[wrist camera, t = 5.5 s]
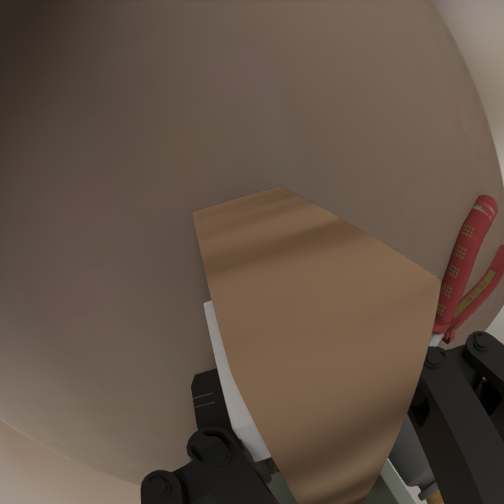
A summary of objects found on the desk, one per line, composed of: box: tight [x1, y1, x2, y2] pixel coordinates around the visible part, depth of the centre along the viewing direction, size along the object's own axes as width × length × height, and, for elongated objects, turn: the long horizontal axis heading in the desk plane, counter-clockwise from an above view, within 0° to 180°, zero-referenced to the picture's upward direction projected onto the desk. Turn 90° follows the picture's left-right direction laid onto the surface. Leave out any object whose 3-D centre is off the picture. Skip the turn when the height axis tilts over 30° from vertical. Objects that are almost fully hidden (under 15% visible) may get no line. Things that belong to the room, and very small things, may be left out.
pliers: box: [429, 195, 504, 347], centre depth 22 cm, size 12×20×3 cm, turn 143°
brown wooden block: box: [192, 186, 441, 504], centre depth 13 cm, size 22×4×9 cm, turn 13°
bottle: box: [388, 415, 444, 504], centre depth 20 cm, size 6×6×15 cm
